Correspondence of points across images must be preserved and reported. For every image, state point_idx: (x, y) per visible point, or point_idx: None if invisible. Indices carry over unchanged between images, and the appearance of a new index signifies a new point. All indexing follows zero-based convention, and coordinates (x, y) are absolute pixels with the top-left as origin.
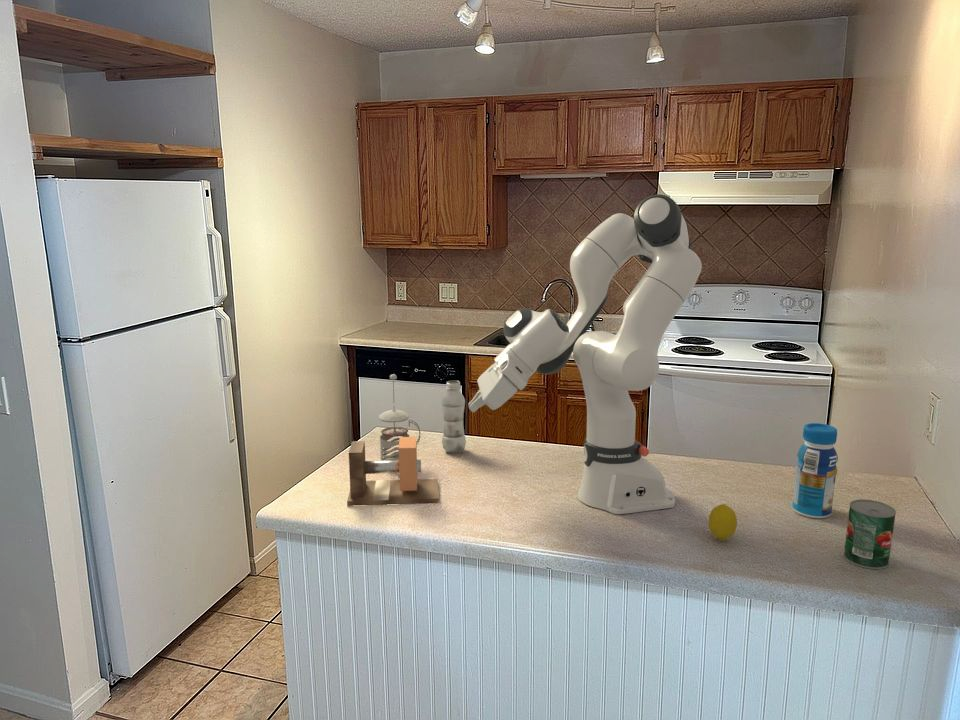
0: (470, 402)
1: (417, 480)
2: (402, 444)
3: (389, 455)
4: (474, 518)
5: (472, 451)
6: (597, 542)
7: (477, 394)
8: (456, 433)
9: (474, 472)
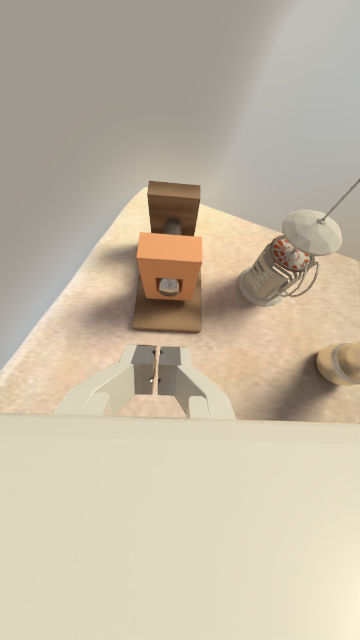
0: (173, 353)
1: (197, 304)
2: (159, 238)
3: (253, 265)
4: (73, 372)
5: (333, 397)
6: None
7: (203, 397)
8: (347, 365)
9: (240, 390)
